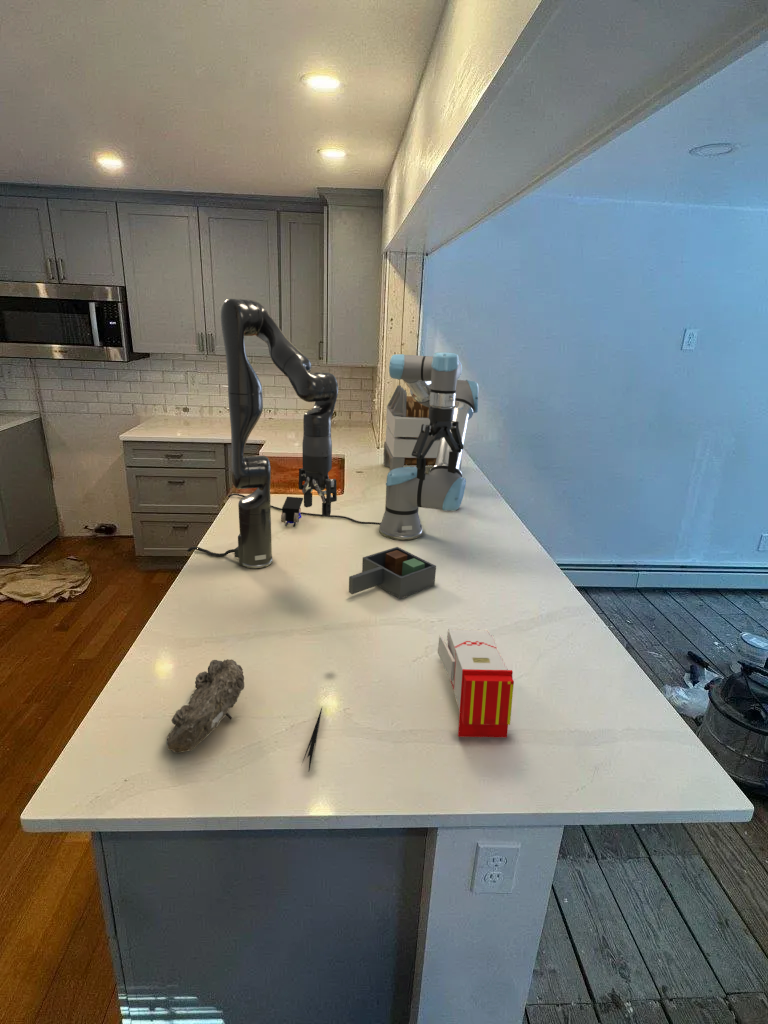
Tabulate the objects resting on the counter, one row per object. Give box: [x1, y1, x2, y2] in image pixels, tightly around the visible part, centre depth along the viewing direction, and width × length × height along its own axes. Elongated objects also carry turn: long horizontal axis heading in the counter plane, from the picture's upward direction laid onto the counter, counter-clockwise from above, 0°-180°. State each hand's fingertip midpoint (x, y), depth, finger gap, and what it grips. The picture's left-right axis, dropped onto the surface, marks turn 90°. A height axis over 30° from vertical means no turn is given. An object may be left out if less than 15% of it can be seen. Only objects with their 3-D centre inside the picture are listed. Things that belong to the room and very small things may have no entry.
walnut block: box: [385, 550, 407, 576], centre depth 168 cm, size 4×4×6 cm
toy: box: [437, 628, 515, 738], centre depth 117 cm, size 12×13×30 cm
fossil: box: [166, 658, 245, 754], centre depth 106 cm, size 22×10×15 cm
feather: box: [301, 673, 332, 771], centre depth 108 cm, size 2×28×2 cm
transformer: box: [383, 384, 463, 472], centre depth 268 cm, size 34×33×41 cm
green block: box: [402, 558, 425, 576], centre depth 163 cm, size 4×4×6 cm
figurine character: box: [280, 496, 304, 528], centre depth 205 cm, size 7×8×15 cm
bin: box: [348, 546, 437, 600], centre depth 161 cm, size 17×24×6 cm
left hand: (317, 511), depth 151 cm, fingers open, 8 cm apart
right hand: (436, 475), depth 175 cm, fingers open, 13 cm apart
